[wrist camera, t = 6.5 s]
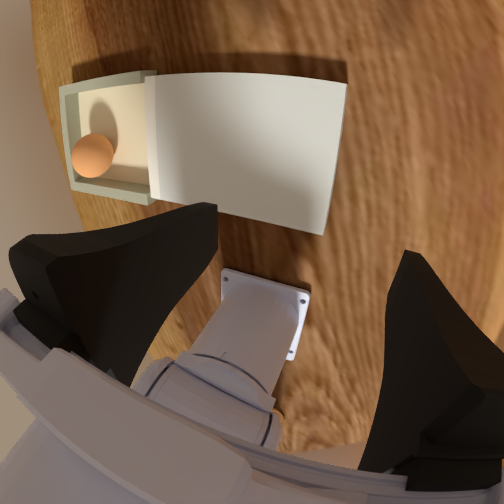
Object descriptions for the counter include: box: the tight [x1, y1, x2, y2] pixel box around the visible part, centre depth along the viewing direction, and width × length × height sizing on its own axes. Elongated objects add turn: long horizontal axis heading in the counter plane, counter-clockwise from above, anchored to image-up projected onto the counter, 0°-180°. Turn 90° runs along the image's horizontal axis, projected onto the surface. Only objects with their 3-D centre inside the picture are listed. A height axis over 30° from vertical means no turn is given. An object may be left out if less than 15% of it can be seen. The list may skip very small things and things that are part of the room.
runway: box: [145, 73, 348, 236], centre depth 19 cm, size 10×14×2 cm
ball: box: [71, 133, 114, 178], centre depth 22 cm, size 4×4×4 cm
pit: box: [59, 70, 157, 205], centre depth 22 cm, size 11×11×2 cm
